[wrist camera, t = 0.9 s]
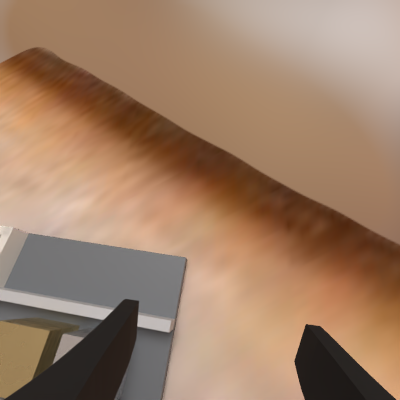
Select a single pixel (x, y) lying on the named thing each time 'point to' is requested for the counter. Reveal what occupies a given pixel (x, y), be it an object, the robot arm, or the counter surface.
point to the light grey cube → (74, 338)
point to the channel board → (95, 294)
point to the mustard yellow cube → (27, 349)
